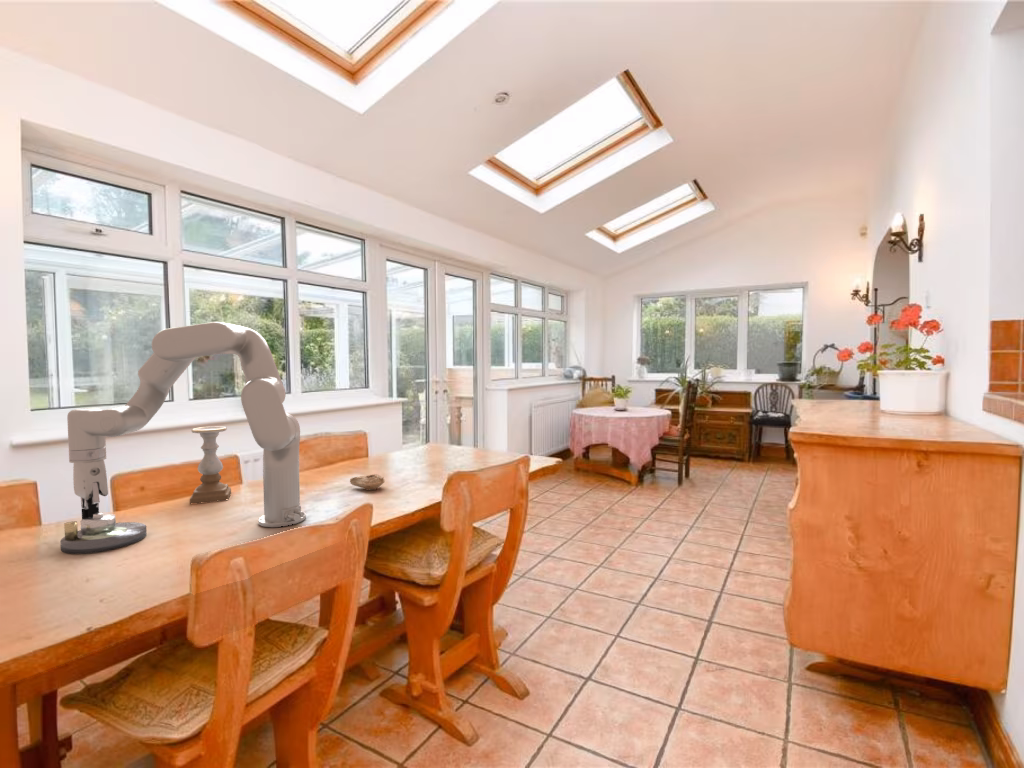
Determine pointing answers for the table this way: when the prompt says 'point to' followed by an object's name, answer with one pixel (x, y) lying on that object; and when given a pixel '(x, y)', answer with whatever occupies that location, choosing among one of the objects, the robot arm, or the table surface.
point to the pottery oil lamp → (368, 481)
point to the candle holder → (210, 468)
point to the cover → (98, 523)
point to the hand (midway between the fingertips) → (90, 522)
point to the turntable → (101, 538)
